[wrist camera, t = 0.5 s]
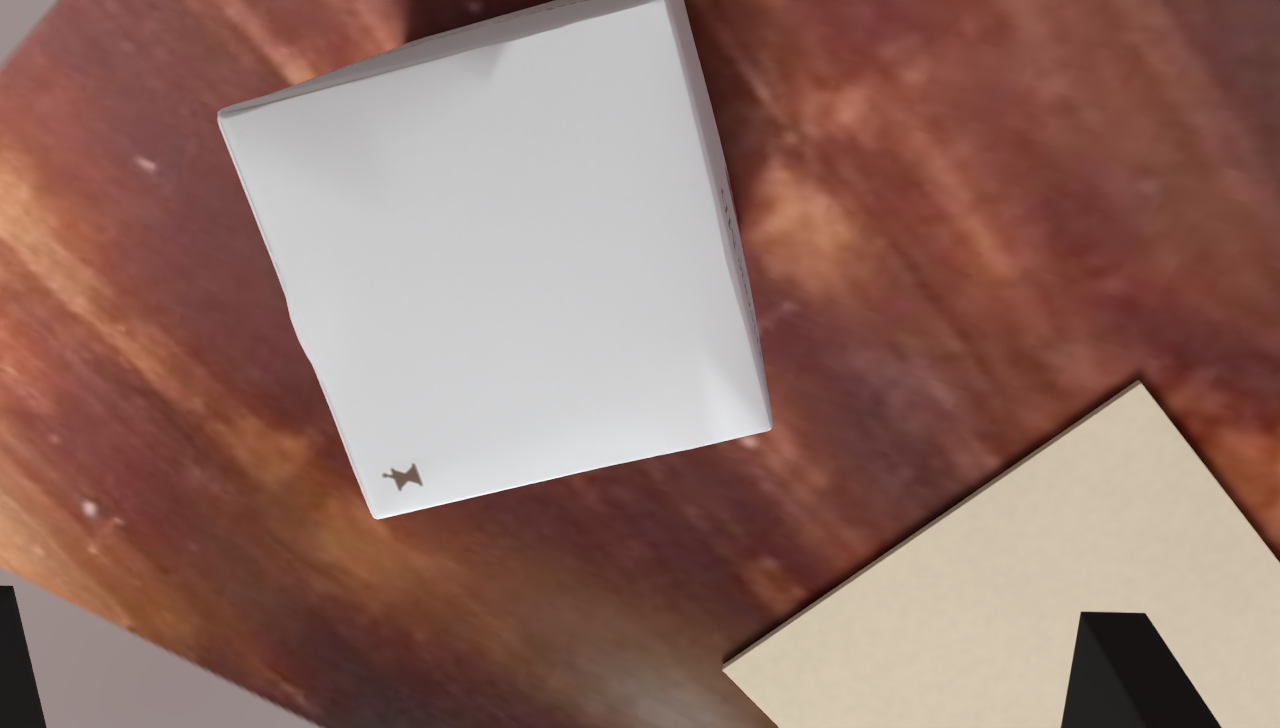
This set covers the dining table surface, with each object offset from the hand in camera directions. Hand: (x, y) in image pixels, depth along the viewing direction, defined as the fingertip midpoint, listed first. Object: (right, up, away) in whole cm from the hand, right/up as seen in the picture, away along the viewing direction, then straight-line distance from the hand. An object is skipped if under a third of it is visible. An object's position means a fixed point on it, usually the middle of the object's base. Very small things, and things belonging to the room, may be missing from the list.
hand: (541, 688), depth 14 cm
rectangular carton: (-1, +11, +22) cm, 24 cm away
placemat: (+18, -9, +28) cm, 35 cm away
